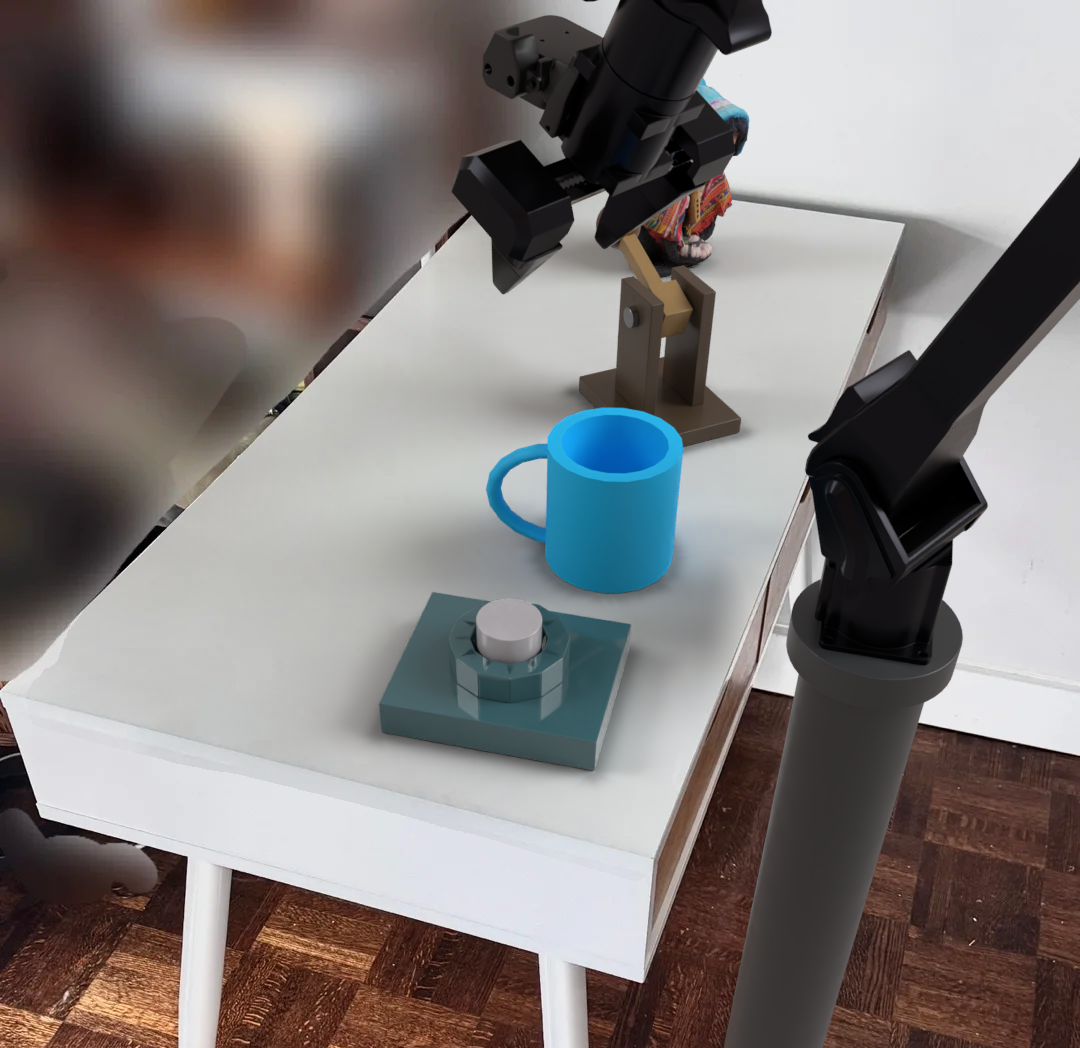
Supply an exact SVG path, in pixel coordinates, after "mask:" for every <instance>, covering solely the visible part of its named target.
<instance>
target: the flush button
mask: <svg viewBox="0 0 1080 1048" xmlns="http://www.w3.org/2000/svg"><path fill="white" fill-rule="evenodd" d="M491 601H492V602H489V603H488V604H486V605H484V606H483V607H482V608H481V609H480V610H479V612H478V614H477V616H476V641H477V648H478V650H479V651H480V653H481V654H482V655H483V656H484V657H485V658H487V659H489V660H491V661H494V662H500V663H506V664H513V663H518V662H524V661H528V660H530V659H531V658H533V657H534V656H536V654H537V653H538V652H539V651H540V649H541V646H542V615H541V613H540V611H539V610H538V609H537V608H536V607H535V606H534V605H532V604H533V603H532V604H531V602H529V601H526V600H524V599H520V598H514V597H513V598H512V597H511V598H510V597H506V598H499V599H495V600H491Z"/></svg>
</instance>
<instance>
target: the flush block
mask: <svg viewBox="0 0 1080 1048" xmlns="http://www.w3.org/2000/svg"><path fill="white" fill-rule="evenodd" d="M492 601H493V600H486V599H478V598H474V597H466V596H461V595H454V594H448V593H443V592H435V591H432V592H431V594H430V596H429V598H428V600H427V601H426V605H425V606H424V608H423V611H422V613H421V615H420V617H419V619H418V621H417V623H416V625H415V627H414V630H413V632H412V633H411V636H410V637H409V639H408V641H407V644H406V646H405V648H404V650H403V653H402V654H401V657H400V659H399V661H398V663H397V664H396V667H395V669H394V671H393V672H392V675H391V678H390V680H389V682H388V684H387V686H386V687H385V690H384V692H383V694H382V697H381V699H380V701H379V703H378V708H379V718H380V729H381V730H380V731H381V733H382V734H383V733H384V734H390V735H395V736H400V737H404V738H405V737H406V738H412V739H417V740H421V741H422V740H423V741H427V742H428V741H429V742H433V743H438V744H439V743H440V744H444V745H449V746H455V747H460V748H466V749H471V750H477V751H483V752H489V753H494V754H500V755H504V756H510V757H516V758H521V759H527V760H532V761H537V762H538V761H539V762H543V763H548V764H549V763H550V764H554V765H555V764H556V765H560V766H565V767H571V768H576V769H582V770H589V771H592V772H593V771H596V767H597V764H598V762H599V761H598V760H599V756H600V755H601V750H602V747H603V743H604V740H605V737H606V733H607V729H608V727H609V722H610V719H611V716H612V713H613V709H614V705H615V702H616V698H617V695H618V692H619V689H620V685H621V681H622V678H623V675H624V671H625V668H626V664H627V662H628V658H629V654H630V649H631V648H630V647H631V634H632V624H631V623H627V622H620V621H615V620H607V619H602V618H596V617H590V616H584V615H578V614H572V613H565V612H559V611H553V610H548V609H547V608H545V607H544V606H542V605H540V604H538V603H531V602H530V603H531V604H532V605H534V606H535V607H536V608H537V609H538V610H539V611H540V613H541V615H542V646H541V649H540V651H539V652H538V653H537V654H536V656H534V657H533V658H531V659H530V660H528V661H524V662H518V663H513V664H506V663H500V662H494V661H491V660H489V659H487V658H485V657H484V656H483V655H482V654H481V653H480V651H479V650H478V648H477V641H476V616H477V614H478V612H479V610H480V609H481V608H482V607H483V606H484V605H486V604H488V603H489V602H492Z"/></svg>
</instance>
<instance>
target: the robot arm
mask: <svg viewBox="0 0 1080 1048" xmlns="http://www.w3.org/2000/svg"><path fill="white" fill-rule="evenodd" d="M582 1H583V2H586V3H590V2H591V3H592V2H597V1H599V0H582ZM769 16H770V15H769V13H768V12H767V9H766V8H765V5H764V3H763V0H619V1H618V4H617V6H616V8H615V10H614V13H613V14H612V17H611V18H610V22H609V24H608V26H607V27H606V30H605V33H604V35H603V36H601V35H599V34H597V33H595V32H593V31H591V30H589V29H587V28H586V27H584V26H581V25H580V24H577V23H576V22H573V21H572V20H570V19H568V18H565V17H563V16H560V15H554V14H546V15H541V16H537V17H534V18H531V19H529V20H526V21H525V20H524V21H522V22H518V23H516V24H513V25H509V26H506V27H503V28H500V29H497V30H495V31H493V33H492V35H491V37H490V40H489V42H488V44H487V46H486V48H485V49H484V51H483V54H482V71H481V72H482V73H481V75H482V79H483V81H484V83H485V85H486V86H487V87H488V88H489V89H491V90H493V91H495V92H497V93H499V94H500V95H502V96H503V97H505V98H507V99H509V100H514V99H517V98H520V99H522V100H523V101H524V102H527V103H529V104H530V105H533V106H535V107H536V108H537V109H540V110H542V111H543V113H542V115H541V117H540V120H539V122H538V124H539V126H540V127H541V128H542V129H543V130H544V131H545V132H546V133H547V135H548V136H549V137H550V138H551V139H555V138H559V140H560V141H561V144H560V149H561V153H562V154H563V156H564V158H562V159H559V160H557V161H554V162H552V163H549V164H546V165H543V164H542V162H541V161H540V160H539V159H538V157H537V156H536V155H535V154H534V153H533V152H532V151H531V150H530V149H529V148H528V146H527V145H526V144H525V143H524V142H523V140H522V139H513V140H512V139H511V140H504V141H501V142H499V143H496V144H493V145H490V146H488V147H484V148H482V149H480V150H477V151H473V152H471V153H469V154H466V155H463V156H462V157H461V159H460V160H459V164H458V167H457V169H456V172H455V174H454V177H453V180H452V182H451V183H452V184H451V191H450V193H452V194H453V195H454V197H455V198H456V199H457V200H458V201H459V203H460V204H461V205H462V207H464V209H465V210H466V211H467V212H468V213H469V214H470V216H471V217H472V218H473V219H474V220H475V222H477V224H478V225H479V226H480V227H481V228H482V230H483V231H484V232H485V233H486V234H487V235H488V237H490V241H491V243H490V244H491V271H492V273H491V275H492V283H493V286H494V287H495V288H496V289H497V290H498V291H499V293H500V294H501V295H506V294H508V293H509V292H511V291H512V290H513V289H515V288H516V287H517V286H519V285H520V284H521V283H522V282H523V281H525V280H526V279H527V278H528V277H529V276H531V275H532V274H533V273H534V272H535V271H537V270H538V269H539V268H540V267H542V265H544V264H545V263H546V262H548V260H550V259H551V258H552V257H553V256H554V255H556V254H557V253H558V252H559V251H561V249H563V244H562V242H561V241H562V240H563V239H564V238H565V237H566V236H567V235H568V234H569V232H570V230H571V228H572V226H573V224H574V222H575V216H574V215H575V214H574V210H573V209H574V208H573V205H576V204H578V203H580V202H583V201H585V200H587V199H590V198H592V197H594V196H597V195H599V194H602V193H604V192H606V194H608V196H607V198H606V201H605V203H604V206H603V207H604V209H603V208H602V209H603V212H602V214H601V217H600V220H599V223H598V226H597V230H596V229H595V234H594V240H595V242H596V243H597V244H598V245H599V247H600V248H601V249H602V250H606V249H609V248H610V246H612V245H613V244H615V243H616V242H618V241H619V240H621V239H622V238H624V237H625V236H627V235H628V234H630V233H631V232H633V231H634V230H636V229H637V228H639V227H640V226H642V225H643V224H645V223H646V222H648V221H649V220H651V219H652V218H654V217H656V216H657V215H659V214H660V213H662V212H663V211H665V210H666V209H668V208H669V207H671V206H673V205H674V204H676V203H677V202H679V201H680V200H682V199H683V198H685V197H686V196H688V195H690V194H691V193H693V192H694V191H696V190H698V189H700V188H702V187H703V186H704V185H705V183H706V181H708V180H710V179H713V178H715V177H717V176H720V175H722V173H723V172H724V173H725V170H726V168H727V166H728V165H729V163H730V161H731V160H732V158H733V157H734V156H733V155H734V153H735V146H734V138H733V130H732V129H731V127H730V126H729V125H728V124H727V123H726V122H725V121H724V120H723V119H722V118H721V116H720V115H719V114H718V113H717V112H716V111H715V110H714V109H713V108H712V106H711V105H710V104H709V103H708V102H707V101H706V100H705V99H704V98H703V96H702V95H701V94H700V93H699V92H698V91H697V88H698V86H699V84H700V82H701V80H702V79H703V78H704V77H705V75H706V74H707V71H708V69H709V67H710V65H711V63H712V62H713V60H714V58H715V56H716V54H717V52H720V53H721V54H722V55H724V56H728V55H729V56H730V55H731V54H735V53H738V52H740V51H742V50H745V49H748V48H750V47H753V46H756V45H759V44H762V43H764V42H768V41H769V40H770V39H771V37H772V33H773V31H772V27H771V22H770V17H769ZM1079 301H1080V157H1079V158H1078V159H1077V161H1076V163H1075V164H1074V165H1073V167H1072V168H1071V169H1070V170H1069V172H1068V173H1067V174H1066V175H1065V177H1064V178H1063V179H1062V180H1061V182H1060V183H1059V184H1058V185H1057V186H1056V188H1055V189H1054V190H1053V192H1052V193H1051V194H1050V195H1049V197H1048V198H1047V199H1046V200H1045V201H1044V203H1043V204H1042V205H1041V206H1040V208H1039V209H1038V210H1037V211H1036V212H1035V214H1034V215H1033V216H1032V217H1031V218H1030V220H1029V221H1028V222H1027V224H1025V226H1024V227H1023V229H1021V231H1020V232H1019V233H1018V234H1017V236H1016V237H1015V238H1014V240H1013V241H1012V242H1011V243H1010V244H1009V246H1008V247H1007V248H1006V249H1005V251H1004V252H1003V253H1002V254H1001V256H1000V257H999V258H998V260H996V262H995V263H994V264H993V266H991V268H990V269H989V271H988V272H987V273H986V274H985V276H984V277H983V278H982V279H981V280H980V281H979V283H978V284H977V286H975V288H974V289H973V291H972V292H971V293H970V294H969V295H968V296H967V298H966V299H965V300H964V301H963V302H962V304H961V305H960V306H959V308H958V309H957V310H956V311H955V313H954V314H953V315H952V316H951V318H950V319H949V320H948V321H947V323H946V324H945V325H944V326H943V327H942V328H941V330H940V331H939V333H938V334H937V335H936V336H935V337H934V338H933V340H932V341H931V342H930V343H929V344H928V345H927V347H926V348H925V349H924V351H923V352H922V353H921V355H919V357H918V358H916V357H915V355H914V354H913V352H912V351H911V350H910V349H908V350H906V351H904V352H903V353H901V354H899V355H898V356H896V357H895V358H893V359H891V360H889V361H888V362H887V363H885V364H883V365H881V366H880V367H878V368H876V369H875V370H873V371H872V372H870V373H869V374H867V375H865V376H863V377H862V378H860V379H859V380H856V381H855V382H853V383H852V384H850V385H849V386H847V387H846V388H845V389H844V391H843V393H842V394H841V395H840V397H839V398H838V400H837V402H836V403H835V404H834V405H835V406H834V407H833V409H832V412H831V414H830V416H829V417H828V419H827V421H826V422H825V423H823V424H822V425H820V426H819V427H817V428H816V429H814V430H813V431H811V432H809V433H808V434H807V438H808V441H811V442H813V443H816V444H815V445H814V446H813V447H812V448H811V450H810V452H809V454H808V456H807V458H806V461H805V467H804V473H805V475H806V476H807V477H808V481H809V488H810V490H811V493H812V501H813V509H814V515H815V521H816V528H817V536H818V541H819V548H820V549H819V550H820V554H821V555H822V556H823V557H824V561H823V566H822V571H821V577H820V579H821V581H820V586H819V591H818V596H817V603H816V610H815V618H816V620H817V621H821V629H820V636H819V646H820V647H821V648H822V649H825V650H830V651H836V652H842V653H849V654H855V655H861V656H867V657H873V658H879V659H886V660H892V661H898V662H904V663H910V664H916V665H928V664H929V663H930V661H931V658H932V645H933V630H934V627H935V623H936V620H937V616H938V613H939V609H940V606H941V602H942V600H944V599H943V598H944V595H945V591H946V589H947V585H948V581H949V577H950V574H951V570H952V567H953V557H954V556H953V552H954V551H953V550H954V540H955V539H956V538H957V537H959V536H960V535H961V534H962V533H963V532H967V531H969V529H971V528H972V527H973V526H974V525H975V524H976V523H977V522H978V520H979V519H980V518H981V516H982V515H983V514H984V513H985V512H986V510H987V509H988V508H989V504H988V501H987V499H986V497H985V495H984V493H983V492H982V490H981V487H980V486H979V483H978V482H977V480H976V478H975V476H974V474H973V472H972V470H971V468H970V466H969V464H968V463H967V460H966V459H965V457H964V455H965V454H966V452H967V450H968V448H969V447H970V445H971V444H972V442H973V440H974V439H975V437H976V435H977V434H978V430H979V427H980V422H981V419H982V416H983V412H984V409H985V406H986V405H987V403H988V401H989V400H990V398H992V396H993V395H994V394H995V393H996V392H997V391H998V390H999V389H1000V387H1001V386H1002V385H1003V384H1004V383H1005V382H1006V381H1007V380H1008V378H1009V377H1010V376H1011V375H1012V374H1013V373H1014V372H1015V371H1016V370H1017V369H1018V368H1019V367H1020V365H1021V364H1022V363H1023V362H1024V361H1025V360H1026V359H1027V358H1028V356H1030V355H1031V353H1032V352H1033V351H1034V350H1035V349H1036V348H1037V347H1038V346H1039V344H1041V342H1042V341H1043V340H1044V339H1045V338H1046V337H1047V336H1048V335H1049V333H1051V332H1052V330H1053V329H1054V328H1055V327H1056V326H1057V325H1058V324H1059V322H1060V321H1061V320H1062V319H1064V317H1065V316H1066V315H1067V314H1068V313H1069V312H1070V310H1071V309H1072V308H1073V307H1074V306H1075V305H1076V304H1077V303H1078V302H1079ZM923 657H924V658H923Z"/></svg>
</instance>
